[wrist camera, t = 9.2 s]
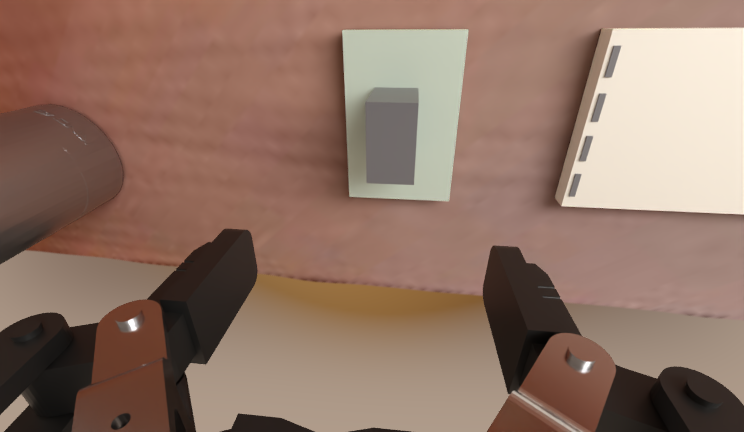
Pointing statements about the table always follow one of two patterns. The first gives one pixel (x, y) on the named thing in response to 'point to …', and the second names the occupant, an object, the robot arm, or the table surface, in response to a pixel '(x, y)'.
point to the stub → (402, 110)
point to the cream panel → (660, 123)
